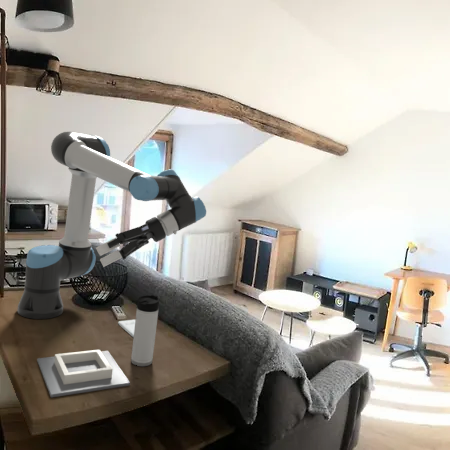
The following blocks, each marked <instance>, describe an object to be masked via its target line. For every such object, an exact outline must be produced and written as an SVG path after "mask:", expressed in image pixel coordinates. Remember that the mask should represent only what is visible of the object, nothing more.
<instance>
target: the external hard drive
mask: <svg viewBox="0 0 450 450" xmlns="http://www.w3.org/2000/svg"><path fill="white" fill-rule="evenodd" d="M135 321H136V318H135V319H127V320H126V319H125V320H119V321H118V322H117V325H119V326H120V327H121V328H122V329H123V330H125V332H127V333H128V334H129V335H130V336H131V337H132V338H134V329H135Z"/></svg>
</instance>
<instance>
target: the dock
mask: <svg viewBox="0 0 450 450" xmlns="http://www.w3.org/2000/svg"><path fill="white" fill-rule="evenodd" d="M36 361H37V364H38V367H39V370H40V372H41V375H42V378H43V380H44V383H45V386H46V388H47V390H48V394H49V396H50V398H56V397H62V396H69V395H75V394H83V393H88V392H89V393H90V392H95V391H101V390H103V391H104V390H109V389H115V388H116V389H117V388H121V387H128V386H130V385H131V382H130V380H129V378H128V377H127V376H126V375H125V372H123V370H122V369H121V368H120V365H118V363H117V362H116V360H115V359H114V357H113V355H111V353H110V352H109V350H102V351H101V349H93V350H92V349H91V350H83V351H75V352H64V353H55V354H54V356H48V357H46V356H45V357H38V358H36Z"/></svg>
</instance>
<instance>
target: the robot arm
mask: <svg viewBox="0 0 450 450" xmlns="http://www.w3.org/2000/svg"><path fill="white" fill-rule="evenodd" d="M50 150H51V151H50V153H51V155H52V157H53V158H54V160H55V161H57V162H58V163H60V164H61V165H63V166H65V167H67V168H68V170H69V172H70V173H71V181H70V182H71V183H70V189H69V194H68V195H69V197H68V204H67V210H66V211H67V212H66V220H65V229H64V236H63V237H62V238H60V239H59V241H58V245H55V244H48V245H45V244H43V245H38V246H34V247H32V248H31V249H29V250H28V252H27V255H26V260H25V277H24V280H25V281H24V288H23V289H24V290H23V292H22V295H21V298H20V300H19V303H18V305H17V315H20V316H21V317H23V318H27V319H33V320H47V319H53V318H57V317H59V316H61V315H62V314H63V312H64V303H63V299H62V296H61V292H60V289H61V281H64V280H68V279H73V278H79V277H82V276H84V275H87V274H89V273H90V272H91V271H92V270H93V269H94V268H95V264H96V257H97V256H96V254H95V250H94V249H93V247H92V243H91V242H90V241H89V233H90V228H91V227H90V226H91V220H92V211H93V203H94V197H95V191H96V189H95V188H96V182H97V178H98V179H100V180H103V181H105V182H107V183H109V184H111V185H113V186H116V187H117V188H120V189H122V190H123V191H126V192H128V193H130V195H131V196H132V197H133V199H134V200H137V201H142V202H149V201H151V202H152V201H166V202H167V204H168V206H169V207H170V209H168V210H165V211H164V212H161V213H159V214H158V215H156V216H154V217H152V218H150V219H148V220H146V221H145V223H144V224H143V225H140V226H138V227H135V228H134V227H133V228H131V229H128V230H124V231H122V232H118V233H116V234H115V235H114V236H115V237H114V238H112V239H110V240H108V241H106V242H104V243H102V244H100V245H99V246H97V247H95V249H96V251H97V253H98V255H99V257H101V256H103V255H105V254H106V255H105V256H103V257H101V258H99V261H100V263H101V264H102V266H103V268H105V267H106V266H108V265H110V264H112V263H114V262H116V261H118V260H120V259H122V260H125V259H127V258H128V257H129V256H130V255H132V254H133V253H135V252H136V251H138V250H139V249H141V248H142V247H144V246H146V245H148V244H149V243H150V241H149V240H151V239H152V240H153V241H154V242H156V243H158V242H160V241H162V240H164V239H166V237H169V236H171V235H176V234H177V233H178V231H181V230H182V229H185V228H187V227H189V226H191V225H193V224H195V223H197V222H198V221H200V220H202V219H203V218H205V217H206V215H207V209H206V206H205V203H204V201H203V200H202V199H201V198H200V197H199V196H194V197H191V195H190V194H189V192H188V190H187V189H186V187H185V185H184V183H183V181H182V180H181V178H180V176H179V175H178V173H177V172H176V171H175V170H174V169H172V168H170V169H165V170H163V171H161V172H160V173H159V174H157V175H151V174H149V173H147V172H144V171H142V170H140V169H138V168H135V167H133V166H130V165H128V164H126V163H124V162H122V161H120V160H117V159H115V158H112V157H111V150H110V147H109V144H108V143H107V141H106V140H105V139H104V138H102V137H101V136H98V135H96V134H90V133H89V134H88V133H80V132H75V131H63V132H61V133H59V134H57V135H56V136H55V137H54V138H53V140H52V142H51V144H50ZM124 244H125V245H124ZM121 245H124V246H122V248H121V249H118V248H120V247H121ZM115 249H117V250H115ZM113 250H115V251H113ZM111 251H113V252H111ZM109 252H111V253H109ZM107 253H109V254H107Z"/></svg>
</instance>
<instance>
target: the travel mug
mask: <svg viewBox="0 0 450 450" xmlns="http://www.w3.org/2000/svg"><path fill="white" fill-rule="evenodd" d="M159 307H160V298H159V296H158V295H155V294H151V295H142V296H140V297H138V299H137V306H136V312H135V319H136V321H135V329H134V337H132V339H133V340H132V349H131V357H130V358H131V359H130V362H131V363H132V365H135V366H136V365H137V367H148V366H150V365H151V364H152V363H153V357H154V350H155V342H156V336H157V335H156V334H157V333H156V331H157V326H158V325H157V324H158V318H159V316H158V315H159Z"/></svg>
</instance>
